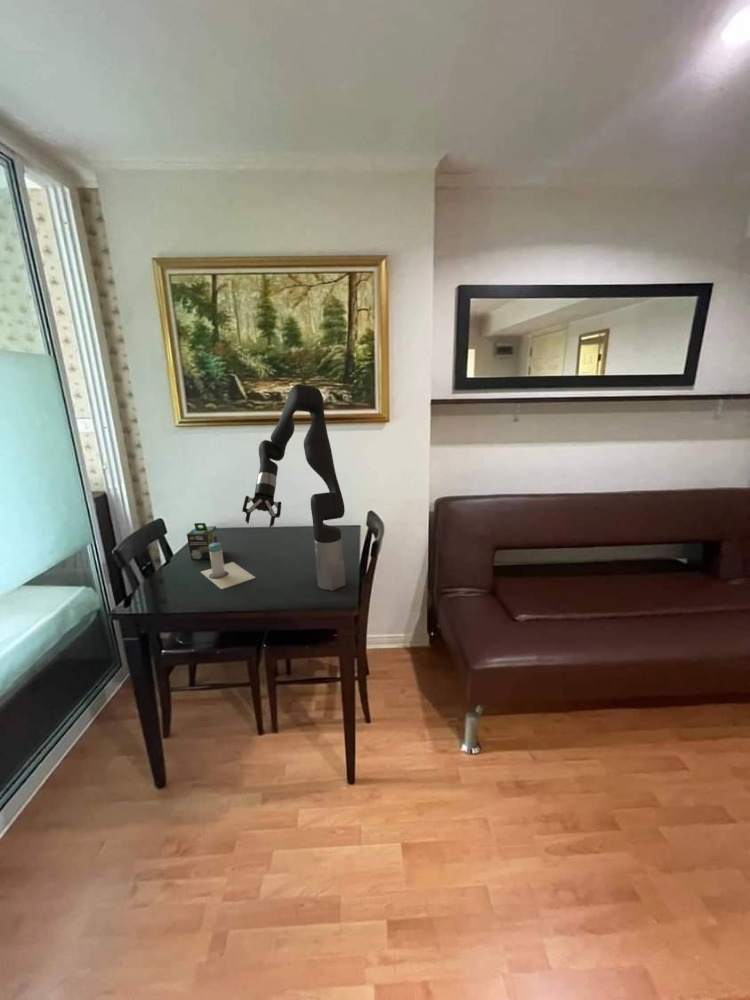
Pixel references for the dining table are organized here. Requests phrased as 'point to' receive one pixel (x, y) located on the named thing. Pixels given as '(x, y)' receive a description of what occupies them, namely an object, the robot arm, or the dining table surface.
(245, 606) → the dining table surface
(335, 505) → the robot arm
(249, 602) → the dining table surface
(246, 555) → the dining table surface
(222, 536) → the dining table surface
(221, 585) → the paper
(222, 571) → the white bottle
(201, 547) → the chalk box
